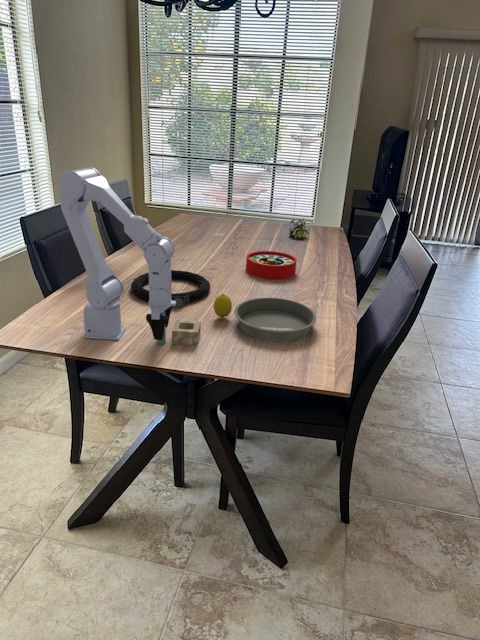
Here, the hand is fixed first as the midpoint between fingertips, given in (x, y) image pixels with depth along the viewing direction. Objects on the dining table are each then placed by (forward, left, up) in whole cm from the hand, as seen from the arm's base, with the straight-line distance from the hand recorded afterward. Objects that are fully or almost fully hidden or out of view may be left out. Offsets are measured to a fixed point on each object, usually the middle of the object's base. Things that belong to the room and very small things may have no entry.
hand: (161, 332), depth 125 cm
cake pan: (+32, +16, -3) cm, 35 cm away
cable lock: (-4, +38, -3) cm, 39 cm away
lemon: (+16, +18, -3) cm, 24 cm away
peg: (0, 0, -3) cm, 3 cm away
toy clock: (+32, +67, -3) cm, 74 cm away
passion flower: (+48, +126, -3) cm, 136 cm away
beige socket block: (+6, +3, -3) cm, 8 cm away
